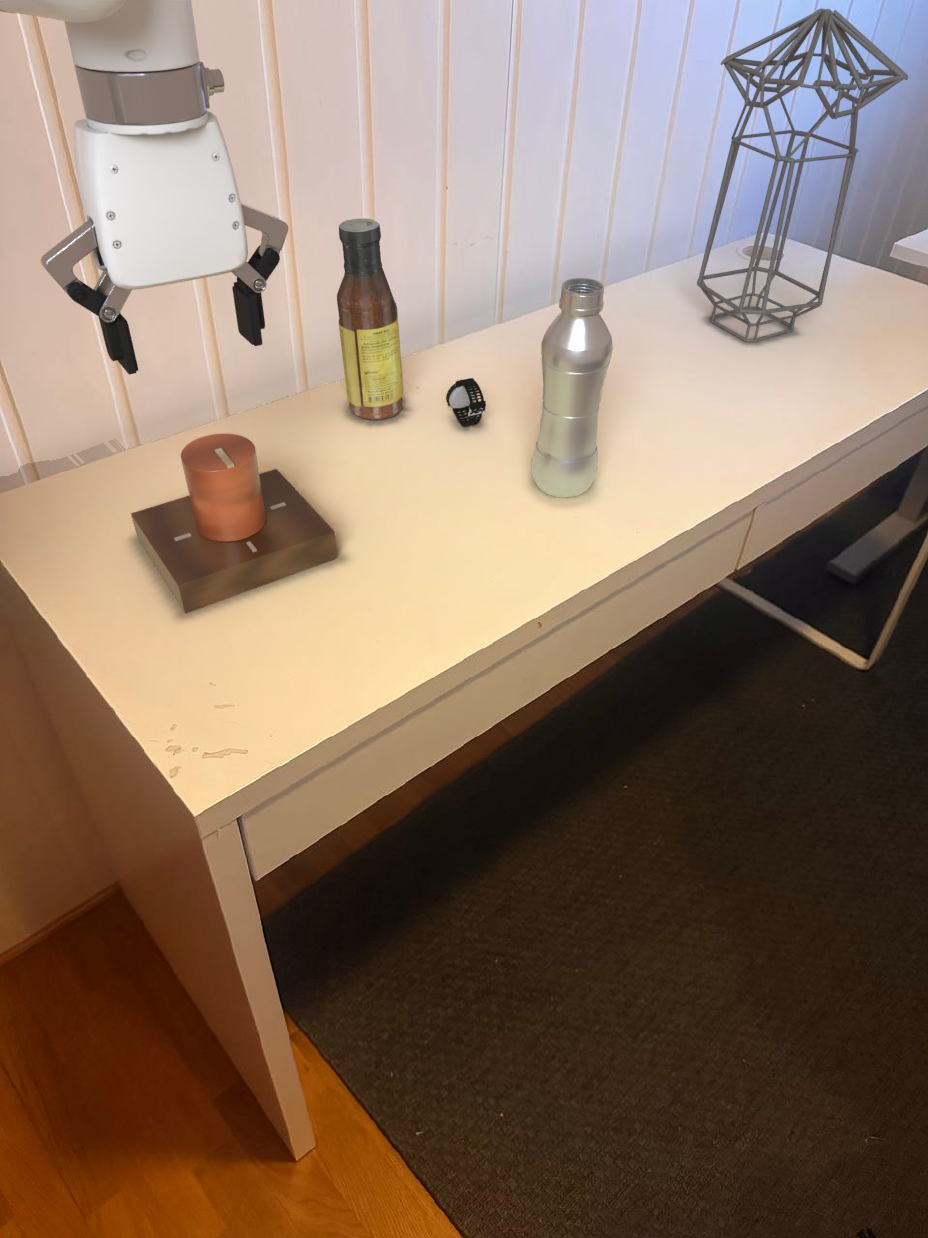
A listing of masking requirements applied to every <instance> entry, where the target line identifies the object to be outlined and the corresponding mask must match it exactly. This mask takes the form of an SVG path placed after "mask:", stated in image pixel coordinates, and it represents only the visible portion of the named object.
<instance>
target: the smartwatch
mask: <svg viewBox="0 0 928 1238" xmlns="http://www.w3.org/2000/svg"><path fill="white" fill-rule="evenodd" d="M445 401H446V403H447V407H450V408H452V412H453V414H454V416H455V418H456V420H457V421H458V423H459V424H460V426H461V427H462V428H467V427H470V426H471V427H472V426H475V425H479V424H480V422H481V420H482V418H483V414H484V413H486V411H487V410H486V407H487V401H486V400H485V399H484V395H483V391H482V389H481V387H480V385H479V383H478V382H477V381H476V380H475V379H474V378H473V377H470V378H464V379H459V380H456V381H455V383H454V384H452V385H451V386H450V387H449V389H448V390H447V392H446V396H445Z"/></svg>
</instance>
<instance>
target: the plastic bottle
mask: <svg viewBox="0 0 928 1238" xmlns="http://www.w3.org/2000/svg"><path fill="white" fill-rule="evenodd" d="M604 294H605V285H604V283H602V282H601V281H599V280H596V279H593V278H588V277H574V278H569V279H567V280H565V281H563V283H561V291H560V298H559V300H558V307H559V309H560V310H561V311H560V313H559V314H558V315H557V316H556V317H555V318H554V319H553V320H552V322H551V323H550V324H549V326H548V327H547V329H546V330H545V332H544V334H543V338H542V340H541V344H540V345H541V346H540V355H541V371H542V373H541V374H542V404H541V405H542V407H541V408H542V409H541V410H542V411H541V417H540V422H539V430H538V433H537V434H538V435H537V440H536V442H535V445H534V449H533V452H532V457H531V463H530V465H531V476H532V479H533V481H534V483H535V484H536V486H537V487H538V489H539V490H541V492H543V493H544V494H546V495H549V496H553V497H556V498H572V497H576V496H580V495H582V494H584V493H585V492H586V491H587V490H588V489H589V488H590V487H591V486H592V485H593V483H594V482H595V478H596V475H597V472H598V469H599V453H598V445H597V443H598V441H597V439H598V417H599V411H600V403H601V400H602V394H603V388H604V385H605V381H606V377H607V375H608V370H609V366H610V364H611V359H612V356H613V350H614V343H613V338H612V337H613V336H612V334H611V332H610V330H609V328H608V325H607V323H606V322H605V321H604V319H603V317H602V316H601V314H600V312H602V311H603V310H604V304H605V303H604Z"/></svg>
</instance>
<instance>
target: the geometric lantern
mask: <svg viewBox="0 0 928 1238" xmlns="http://www.w3.org/2000/svg"><path fill="white" fill-rule="evenodd" d="M814 27H815V28H814ZM813 29H814V32H813V35H812V37H811V42H810V45H809V48H808V50H807V51H805V52H802V53H798V54H796V53H797V52H798V51H799V49H800V48H801V47H802V45H803V43H804V42H805V40H806V39H807V37H808V36H809V34H810V33H811V32H812V30H813ZM792 31H793V32H792ZM790 32H792V33H790ZM788 33H790V35H789V36H788V37H787V38H786V39H785V40H784V41H783V42H781V44H779V45H778V46H777V47H776V48H775V49H774V50H773V51H772V52H770V54H769V55H768V56H767V57H766V58H765V59H764V60H763V61H761V60H753V59H744V58H739V57H741V56H743V55H745V54H747V53H748V52H751V51H753V50H755V49H757V48H759V47H761V46H764V45H766V44H767V43H770V42H771V41H774V40H775V39H777V38H780V37H782V36H783V35H786V34H788ZM820 36H821V45H820V46H821V48H820V53H819V52H818V53H817V52H815V50H816V47H817V45H818V42H819V40H820ZM833 37H834V40H835V41H836V44H837V46H838V48H839V50H840V52H841V54H842V56H843V58H844V61H845V62H844V61H841V60H839V59H838V58H836V54H835V47H834V41H833ZM850 37H851V38H850ZM851 39H853V40H854V41H855V42H856V43H857V44H859V45H860V46H861V47H862V48H863V49H865V50H866V51H867V52H868V53H869V54H870V55H872V56H873V57H874V58H875V59H876V60H877V61H879V63H881V64H882V65H884V66H885V67H886V69H870V68H869V66H868V65H867V63H866V62H865V60H864V59H863V57H862V55H861V53H859V50H857V48H856V46H855V45H854V43H853V42H852V40H851ZM786 48H787V49H786ZM785 49H786V50H785ZM827 49H828V51H827ZM848 49H849V51H850V53H851V54H852V56H853V57H854V59H855V61H856V62H857V63H858V65H859V67H860V68H861V69H862V71H863V72H864V73H863V72H859V70H858V69H857V68H856V66H855V64H854V61H853V59H852V57H851V55H850V53H849V51H848ZM784 50H785V51H784ZM783 51H784V52H783ZM782 52H783V54H781V53H782ZM827 52H828V54H827ZM780 54H781V56H780V58H779V59H776V58H777V57H778V56H779V55H780ZM813 57H819V58H820V57H821V58H820V63H819V68H818V69H819V70H818V74H817V79H816V80H814V82H813V83H812V84H806V83H805V79H806V77H807V74H808V71H809V69H810V65H811V62H812V59H813ZM798 60H800V61H799V62H798V63H797V64H796V65H795V67H794V68H793V69H792V70H791V71H790V72H789V73H788V74H787V76H786V77H785V78H784V74H785V72H786V68H787V67H788V65H789V64H790V63H792V62H796V61H798ZM720 65H721V66H723V65H724V68H725V69H726V71H727V73H728V74H729V76H730V77H731V79H732V81H733V83H734V85H735V86H736V88H737V90H738V93H739V94H740V95H741V97H742V99H743V101H744V105H743V107H742V110H741V113H740V115H739V118H738V120H737V123H736V125H735V127H734V131H733V133H732V135H731V138H730V139H731V142H730V146H729V151H728V153H727V158H726V162H725V167H724V170H723V176H722V179H721V183H720V188H719V192H718V196H717V201H716V204H715V207H714V208H715V209H714V211H713V217H712V221H711V225H710V229H709V233H708V236H707V240H706V241H707V242H706V245H705V250H704V254H703V259H702V262H701V266H700V270H699V275H698V278H697V281H696V285H697V287H699V288H700V289H701V291H702V292H703V294H704V295H705V296H706V298H707V299H708V301H709V302H710V303H711V304H712V310H711V315H710V317H709V319H710V323H712V324H714V325H716V326H718V327H719V328H721V329H723V331H726V332H728V333H729V334H731V335H733V336H734V337H736V338H738V339H740V340H741V341H743V342H745V343H757V342H759V341H762V340H766V339H770V338H774V337H777V336H781V335H784V334H788V333H792V332H794V328H795V327H794V326H795V322H796V319H797V318H798V317H800V316H802V315H805V314H806V313H809V312H811V311H813V310H815V309H817V308H819V307H821V306H822V305H823V301H824V295H825V290H826V286H827V281H828V276H829V271H830V266H831V262H832V260H831V259H832V256H833V252H834V247H835V243H836V239H837V236H838V232H839V227H840V223H841V218H842V214H843V210H844V207H845V202H846V198H847V195H848V194H847V193H848V190H849V186H850V182H851V177H852V173H853V169H854V164H855V161H856V158H857V157H856V156H857V153H858V152H859V149H858V148H856V141H857V131H858V121H859V119H858V118H859V111H860V110H861V109H863V108H864V107H865V106H867V105H869V104H870V103H871V102H873V101H875V100H876V99H878V98H879V97H880V96H882V95H883V94H884V93H886V92H887V91H889V90H890V89H893V87H895V86H896V85H898V84H899V83H900V82H902V81H904V80H905V81H908V79H909V75H908V73H907V72H906V71H904V70H903V69H902V68H901V67H900V66H898V64H897V63H895V62H894V61H893V59H891V58H890V57H889V56H888V55H886V53H884V52H883V51H882V49H880V48H879V47H878V46H877V45H875V44H874V43H873V42H872V41H871V40H870V39H869V38H868V37H866V35H865V34H863V33H862V32H861V31H860V30H859V29H858V28H857V27H855V26H854V25H853V24H852V23H851V22H850V21H849V20H848V19H846V18H845V17H844V16H843V15H842V14H841V13H840V12H839V11H838V10H836V9H834V10H833V11H832V10H831V8H822V7H821V8H819V9H817V10H816V11H814V12H813V13H810V14H809V15H806V16H805V17H802V18H801V19H799V20H797V21H795V22H794V23H791V24H790V25H787V26H786V27H784V28H782V29H780V30H777V31H776V32H774V33H772V34H770V35H768V36H766V37H764V38H762V39H760V40H757V41H756V42H754V43H752V44H749V45H748V46H747V45H746V47H744V48H741V49H739V50H738V51H735V52H733V53H731V54H729V55H727V56H726V57H724V58H723V60H722V61H721V62H720ZM824 65H825V66H826V69H827V71H828V73H829V75H830V77H831V79H832V80H824V79H823V80H822V73H823V68H824ZM749 66H750V67H749ZM751 66H752V67H755V68H752V67H751ZM768 66H769V67H771V69H770V70H769V71H768V73H767V74H765V71H766V68H767V67H768ZM772 66H773V67H772ZM780 67H782V68H781V71H780V73H779V77H778V78H772V77H773V76H774V75H775V74H776V72H777V70H779V68H780ZM838 67H839V68H841V69H843V70H845V71H846V72H849V76H850V77H852V78H851V80H850V82H849V83H841V81H840V79H839V75H838V74H839V73H838ZM799 70H800V73H799V75H798V78H797V79H792V78H793V77H794V76H795V75H796V74H797V73H798V71H799ZM736 73H737V74H739V75H740V76H741V77H742V78H743V79H744V80H745V81H746V84H745V85H746V86H745V88H744V86H743V84H742V83H741V81H740V79H739V77H738V76H737V74H736ZM875 76H887V77H885V78H881V79H877V80H874V78H875ZM889 76H890V77H889ZM754 77H757V78H759V80H758V81H757V80H756V79H754ZM862 80H863V81H868V82H866V83H864V82H863V81H862ZM854 83H855V84H854ZM751 85H752V86H753V87H754V88H755V89H756V90H755V92H754V94H753V97H752V99H751V98H750V87H751ZM767 85H776V86H767ZM786 86H787V87H786ZM784 87H785V88H784ZM822 87H827V88H828V87H829V88H830V89H831V90H834V92H837V97H836V99H835V100H834V101H833V102H832V103H831V104H830V103H829V100H828V98H827V96H826V95H825V93H824V91H823V90H822ZM797 88H803V89H813V90H814V91H815V93H816V94H817V96H818V98H819V100H820V101H821V103H822V106H823V108H824V109H825V112H823V114H822V115H821V116H820V117H819V119H817V121H816V122H815V123H814V124H813V126H811V128H810V129H809V130H808V131H802V130H795V127H794V124H793V122H792V119H791V117H790V114H789V112H788V109H787V107H786V104H785V102H784V99H783V97H784V96H786V95H787V94H789V93H791V92H792V91H794V90H795V89H797ZM857 89H858V91H859V94H858V97H856V96H855V95H852V94H850V93H851V91H856V90H857ZM765 93H775V94H774V95H773V96H771V97H770V98H768V99H767V100H765ZM758 97H759V98H760V99H759V101H757V100H758ZM843 99H845V100H848V101H849V102H851V108H850V109H846V110H842V111H839V110H840V106H841V105H840V104H841V101H842V100H843ZM777 100H779V101H780V104H781V106H782V109H783V111H784V113H785V116H786V118H787V122H788V124H789V127H790V129H788V130H779V131H775V130H774V126H773V122H772V119H771V114H770V111H769V106H770V105H771V104H773V103H775V102H776V101H777ZM747 107H748V109H747ZM754 108H758V109H762V110H763V113H764V117H765V120H766V124H767V129H768V131H769V132H760V133H749V134H744V133H745V130H746V128H747V124H748V122H749V119H750V117H751V115H752V112H753V110H754ZM746 110H747V112H746ZM745 112H746V115H745V117H744V114H745ZM828 116H829V118H831V119H832V120H837V119H838V118H842V117H843V118H844V117H847V116H850V128H849V139H848V141H849V142H848V145H847V144H844V143H841V142H838V141H835V140H832V139H830V138H827V137H823V136H821V135H818V134H814V132H815V131H816V130H817V129H818V128H819V127H820V126H821V124H823V122H825V120H826V119H827V118H828ZM743 117H744V119H743ZM742 120H743V122H742ZM740 124H742V125H741V127H740ZM739 127H740V129H739ZM738 129H739V131H738ZM737 132H738V135H737ZM787 134H790V137H789V141H788V144H787V148H786V152H785V155H781V151H780V148H779V144H778V141H777V136H778V135H780V136H781V135H787ZM736 135H737V136H736ZM796 136H797V137H798V136H799V137H804V138H803V139H802V140H801V141H800V142H799V143H798V144H797V145H796V147H795V148H794V149H793V146H794V142H795V139H796ZM761 137H770V139H771V143H772V147H773V150H774V154H772V153H770V152H768V151H765V150H763V149H760V148H758V147H756V146H753V145H751V144H748V143H747V142H743V141H742V139H752V138H761ZM810 138H812V139H815V140H818V141H822V142H824V143H827V144H831V145H833V146H836V147H839V148H842V149H845V150H848V153H845V154H844V153H843V154H835V155H834V154H833V155H824V156H816V157H806V155H807V149H808V147H809V146H808V145H809V142H810ZM802 145H803V146H802ZM740 146H741V147H744V148H747V149H749V150H751V151H754V152H756V153H759V154H761V155H763V156H766V157H768V158H770V159H773V160H774V163H773V166H772V170H771V174H770V178H769V182H768V186H767V190H766V193H765V194H766V195H765V198H764V203H763V205H762V210H761V215H760V219H759V222H758V227H757V231H756V234H755V239H754V243H753V247H752V252H751V255H750V260H749V264H748V267H746V268H739V269H733V270H729V271H722V272H717V273H711V274H705V273H706V270H707V269H706V268H707V265H708V262H709V258H710V255H711V252H712V251H711V250H712V248H713V243H714V240H715V237H716V232H717V229H718V226H719V222H720V219H721V215H722V212H723V208H724V204H725V201H726V197H727V193H728V190H729V187H730V186H729V185H730V183H731V180H732V175H733V172H734V169H735V165H736V160H737V156H738V153H739V150H740ZM801 146H802V150H801V153H800V158H796V159H795V158H794V157H792V156H793V155H795V153H796V152H797V151H798V150H799V149H800V148H801ZM792 149H793V150H792ZM837 159H845V165H844V169H843V173H842V179H841V183H840V189H839V195H838V199H837V203H836V209H835V214H834V218H833V225H832V229H831V234H830V239H829V244H828V249H827V253H826V259H825V263H824V267H823V271H822V275H821V279H820V283H819V288H818V290H816V289H814V288H812V287H810V286H808V285H806V284H804V283H802V282H800V281H799V280H796V279H794V278H792V277H790V276H789V275H787V274H784V273H782V272H781V271H779V269H780V265H781V261H782V256H783V254H784V253H783V251H784V248H785V243H786V240H787V237H788V236H787V235H788V232H789V227H790V223H791V219H792V215H793V210H794V205H795V202H796V199H797V198H796V197H797V192H798V189H799V188H798V187H799V185H800V181H801V176H802V172H803V167H804V163H808V162H819V161H828V160H837ZM780 162H782V166H781V170H780V174H779V177H778V180H777V184H776V187H775V192H774V195H773V198H772V202H771V197H772V193H773V190H774V189H773V188H774V185H775V180H776V176H777V171H778V167H779V163H780ZM797 163H798V166H797V169H796V170H797V171H796V175H795V179H794V183H793V188H792V192H791V197H790V201H789V205H788V199H789V195H790V189H791V184H792V180H793V175H794V169H795V164H797ZM788 164H789V165H788ZM787 168H788V171H787V176H786V180H785V185H784V190H783V194H782V195H783V196H782V201H781V206H780V211H779V215H778V220H777V226H776V231H775V236H774V239H773V245H772V251H771V256H770V261H769V265H768V266H769V267H768V268H767V267H762V266H760V263H761V259H762V255H763V252H764V249H765V246H766V242H767V238H768V234H769V232H770V228H771V225H772V220H773V217H774V213H775V209H776V206H777V203H778V199H779V195H780V192H781V189H782V185H783V183H784V178H785V175H786V170H787ZM770 202H771V206H770ZM787 205H788V210H787ZM769 206H770V210H769V212H768V209H769ZM786 210H787V213H786ZM767 213H768V216H767ZM785 215H786V219H785ZM766 217H767V221H766ZM784 219H785V222H784ZM765 221H766V223H765ZM783 224H784V225H783ZM764 225H765V228H764ZM783 226H784V227H783ZM782 228H783V229H782ZM763 229H764V231H763ZM782 231H783V232H782ZM762 233H763V235H762ZM781 234H782V235H781ZM761 237H762V238H761ZM760 241H761V242H760ZM779 243H780V244H779ZM757 272H761V273H766V274H767V277H766V283H765V284H764V286H763V288H762V289H761V291H760V292H759V293H756V284H757V283H756V282H757ZM739 274H746V275H745V280H744V283H743V287H742V291H741V295H737V296H734V297H729V298H726V297H724V296H723V295H721V294H719V293H718V292H717V291H715V290H714V289H712V288H710V287H709V286H707V284H706V283H705V280H706V281H707V280H711V279H717V278H723V277H727V276H728V277H729V276H734V275H739ZM752 274H753V275H752ZM752 276H753V277H752ZM776 276H777V277H779V278H781V279H782V280H785V281H786V282H788V283H791V284H793V285H795V286H796V287H798V288H801V289H803V290H805V291H806V292H808V293H811V294H812V295H814V297H813V298H811V299H810V300H809V301H807V302H806V303H801V304H800V303H799V304H793V305H788V306H786V305H784V304H782V303H780V302H777V301H776V300H773V299H771V298H769V295H770V289H771V283H772V281H773V279H774V277H776ZM751 277H752V287H751V292H749V293H748V290H749V286H750V282H751ZM753 297H756V298H757V300H756V303H755V306H753V305H752V300H753ZM715 298H716V299H717V300H718V301H716V299H715ZM746 298H748V302H747V306H745V302H746ZM761 299H762V304H761V307H760V306H759V305H760V302H761ZM737 300H739V304H738V305H737V304H736V303H734V302H733V301H737ZM768 302H769V303H770V304H773V305H775V306H777V307H774V308H773V307H772V308H767V304H768ZM720 304H725V305H727V306H728V307H730V308H731V310H729V309H727V308H724V307H722V306H721V305H720ZM717 309H718V310H721V311H722V312H720V313H716V312H717ZM737 312H738V313H739V314H740V315H741V316H742V317H740V316H739V315H737V314H736V313H737ZM782 312H790V313H792V314H790V315H785V316H782V317H779V316H777V315H775V313H782ZM747 314H748V315H759V318H758V319H757V321H756V322H754V323H753V322H750V320H749V318H748V317H747ZM726 315H729V316H730V317H733V318H735V319H736V320H738V321H739V322H741V323H744V325H747V327H746V332H745V337H744V336H742V335H741V334H739V333H737V332H735V331H734V330H733V329H730V328H728V327H727V326H725V325H723V324H722V323H720V322H718V321H717V320H716V318H720V317H723V316H726ZM765 315H767V316H768V317H771V318H772V319H769V320H763V318H764V316H765ZM762 320H763V321H762ZM786 320H790V321H786ZM776 322H780V323H782V324H784V325H785V326H787V327H788V329H784V330H782V331H778V332H774V333H770V334H767V335H763V336H760V337H758V334H759V330H760V326H763V325H767V324H772V323H776ZM751 327H755V332H754V335H753V338H749V335H750V330H751Z"/></svg>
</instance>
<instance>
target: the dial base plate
mask: <svg viewBox="0 0 928 1238" xmlns="http://www.w3.org/2000/svg"><path fill="white" fill-rule="evenodd" d="M259 476H260V482H261V488H262V494H263V501H264V507H265V513H266V522H265V524H264V526H263V527H262V529H260V530H259V531H258V532H257V533H255V534H254V535H252V536H250V537H247V538H245V539H241V540H237V541H228V542H222V541H214V540H211V539H208V538H206V537H204V536H202V535H201V534H200V533H199V532H198V530H197V527H196V523H195V519H194V514H193V510H192V505H191V501H190V496H189V495H187V496H183V497H179V498H176V499H174V500H173V499H172V500H169V501H166V502H163V503H161V504H157V505H154V506H151V507H146V508H144V509H141V510H138V511H137V510H136V511H135V512H131V513H130V517H131V519H132V523H133V527H134V530H135V534H136V537H137V541H138V543H139V544H140V545H141V547H142V548H143V550H144V552H145V554H146V555H147V556H148V558H149V559H150V561H151V563H152V564H153V566H154V567H155V569H156V570H157V572H158V573H159V575H160V577H161V578H162V580H163V581H164V583H165V584H166V586H167V587H168V589H169V590H170V592H171V594H172V596H173V597H174V598H175V599H176V601H177V603H178V604H179V606H180V607H181V609H182V610H183V612H184V614H187V613H190V612H193V611H197V610H200V609H201V608H204V607H207V606H210V605H213V604H215V603H218V602H221V601H223V600H227V599H229V598H232V597H234V596H238V595H240V594H242V593H245V592H248V591H251V590H253V589H257V588H259V587H262V586H266V585H268V584H270V583H273V582H275V581H279V580H281V579H284V578H286V577H290V576H293V575H295V574H299V573H301V572H302V571H306V570H308V569H312V568H314V567H317V566H321V565H323V564H325V563H328V562H331V561H334V560H336V559H338V554H337V545H336V535H335V534H336V533H335V530H334V529H333V527H331V525H330V524H329V523H328V522H326V520H325V519H324V518H323V517H322V516H321V515H320V514H319V513H318V511H316V509H314V508H313V506H312V505H311V504H310V503H309V502H308V501H307V500H306V499H305V498H304V497H303V496H302V494H301V493H300V492H299V491H298V490H297V488H295V487H294V486H293V484H291V483H290V481H288V479H287V478H286V477H285V476H284V475H283V474H282V473H281V472H280V470H278V468H274V469H271V470H268V471H264V472H260V473H259Z"/></svg>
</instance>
